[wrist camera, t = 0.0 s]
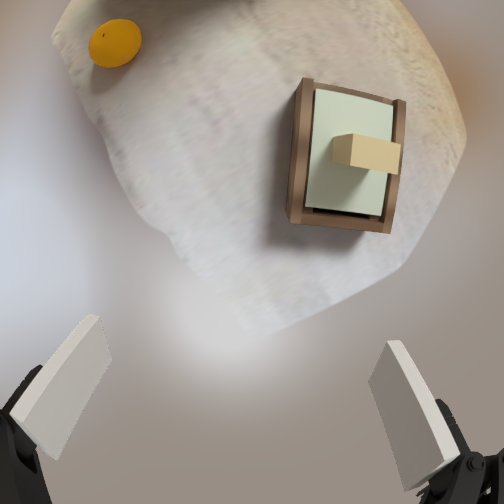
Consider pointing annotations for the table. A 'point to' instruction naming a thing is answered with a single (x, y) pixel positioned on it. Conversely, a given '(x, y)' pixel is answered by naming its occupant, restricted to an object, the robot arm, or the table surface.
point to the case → (301, 162)
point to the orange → (115, 43)
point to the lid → (350, 153)
